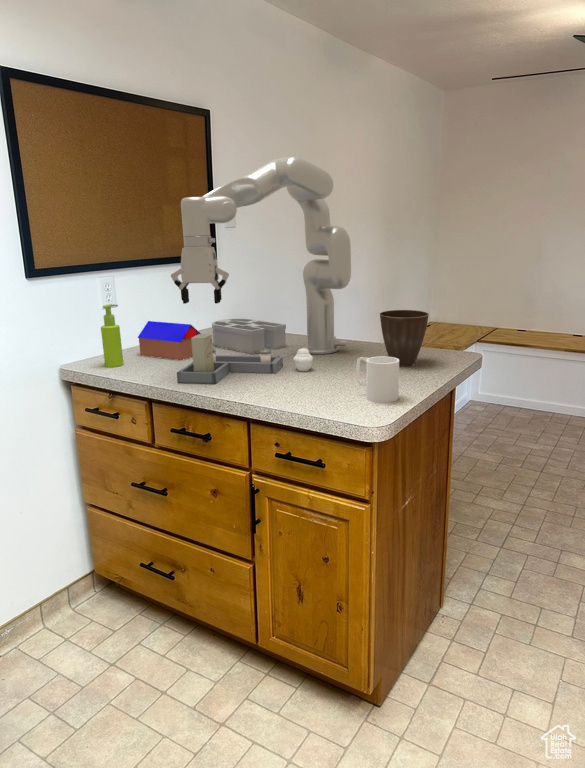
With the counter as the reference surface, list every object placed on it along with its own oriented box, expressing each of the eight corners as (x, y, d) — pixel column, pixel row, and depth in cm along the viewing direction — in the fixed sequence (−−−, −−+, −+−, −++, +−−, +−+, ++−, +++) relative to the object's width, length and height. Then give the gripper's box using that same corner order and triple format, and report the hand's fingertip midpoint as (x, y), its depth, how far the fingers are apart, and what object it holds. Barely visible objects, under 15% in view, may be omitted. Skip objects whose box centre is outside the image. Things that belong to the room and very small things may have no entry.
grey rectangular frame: (282, 365, 189) (282, 356, 188) (275, 373, 179) (275, 363, 178) (204, 363, 194) (203, 354, 193) (193, 371, 184) (192, 362, 184)
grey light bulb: (218, 366, 190) (217, 348, 188) (214, 369, 186) (213, 350, 185) (208, 366, 190) (206, 348, 189) (204, 369, 187) (203, 350, 185)
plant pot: (435, 362, 187) (437, 312, 183) (411, 371, 176) (412, 318, 172) (395, 356, 197) (396, 308, 192) (369, 364, 186) (370, 314, 182)
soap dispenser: (129, 363, 198) (123, 303, 193) (115, 367, 192) (108, 306, 187) (115, 361, 200) (109, 303, 195) (101, 366, 194) (94, 306, 189)
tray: (229, 372, 182) (229, 362, 181) (215, 384, 169) (214, 373, 168) (194, 371, 184) (193, 361, 183) (177, 383, 171) (176, 372, 170)
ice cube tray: (253, 355, 205) (251, 331, 203) (204, 345, 224) (202, 323, 222) (287, 347, 216) (286, 324, 214) (238, 338, 236) (236, 317, 233)
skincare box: (207, 378, 173) (205, 337, 170) (193, 378, 174) (190, 337, 171) (214, 373, 179) (212, 333, 176) (201, 372, 180) (198, 333, 177)
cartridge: (272, 367, 186) (271, 349, 184) (269, 370, 183) (269, 351, 181) (262, 367, 187) (261, 349, 185) (259, 370, 183) (258, 351, 182)
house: (162, 349, 219) (159, 318, 216) (204, 354, 209) (202, 321, 206) (139, 356, 209) (135, 323, 206) (181, 361, 199) (179, 327, 196)
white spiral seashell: (309, 373, 178) (309, 350, 177) (290, 371, 180) (290, 349, 179) (316, 368, 184) (315, 346, 182) (297, 367, 186) (297, 345, 184)
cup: (363, 389, 160) (363, 353, 157) (404, 396, 153) (404, 358, 150) (347, 397, 153) (347, 359, 151) (389, 404, 146) (389, 365, 144)
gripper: (230, 241, 169) (234, 301, 173) (173, 242, 172) (178, 301, 177) (222, 242, 161) (226, 304, 166) (163, 244, 165) (168, 304, 170)
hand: (201, 302), depth 171 cm, fingers open, 9 cm apart
